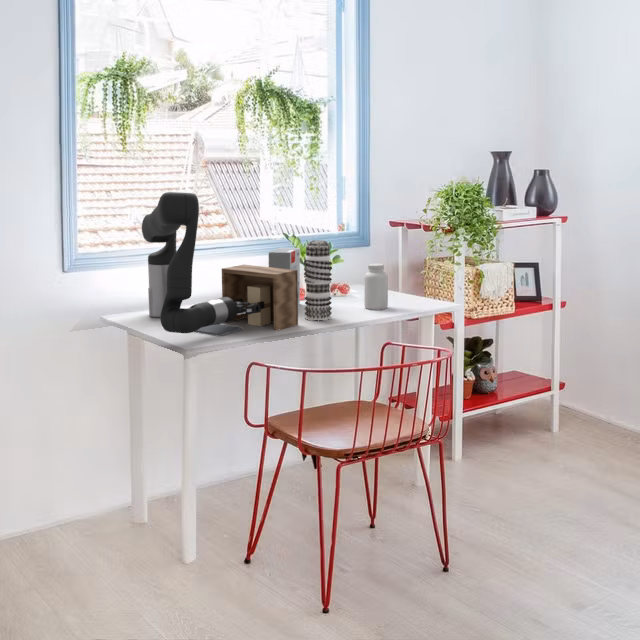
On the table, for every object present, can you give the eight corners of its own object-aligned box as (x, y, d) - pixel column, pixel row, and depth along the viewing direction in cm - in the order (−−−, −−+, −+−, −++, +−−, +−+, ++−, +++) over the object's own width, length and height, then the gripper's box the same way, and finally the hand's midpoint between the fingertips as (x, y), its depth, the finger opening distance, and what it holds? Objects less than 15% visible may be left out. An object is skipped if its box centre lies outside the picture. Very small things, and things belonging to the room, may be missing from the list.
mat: (218, 335, 283) (218, 333, 283) (191, 331, 290) (191, 329, 289) (242, 329, 292) (242, 327, 292) (215, 325, 298) (215, 323, 298)
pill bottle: (361, 309, 324) (361, 265, 321) (368, 305, 331) (369, 262, 328) (383, 310, 321) (383, 266, 318) (390, 306, 328) (391, 263, 325)
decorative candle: (299, 320, 306) (298, 242, 301) (310, 314, 315) (309, 239, 310) (326, 321, 303) (326, 243, 298) (336, 316, 311) (336, 240, 306)
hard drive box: (290, 312, 319) (289, 252, 315) (268, 311, 321) (267, 252, 317) (300, 303, 334) (300, 247, 330) (279, 303, 336) (278, 246, 332)
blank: (260, 326, 297) (259, 288, 295) (247, 324, 300) (247, 286, 298) (270, 323, 301) (270, 285, 299) (258, 321, 304) (257, 284, 302)
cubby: (276, 330, 290) (275, 274, 287) (222, 322, 303) (221, 268, 299) (297, 324, 299) (297, 270, 296) (244, 317, 311) (243, 264, 308)
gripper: (235, 301, 279) (270, 293, 292) (199, 296, 287) (235, 289, 300) (236, 326, 281) (270, 317, 293) (200, 321, 289) (235, 312, 302)
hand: (252, 303), depth 297 cm, fingers open, 8 cm apart
